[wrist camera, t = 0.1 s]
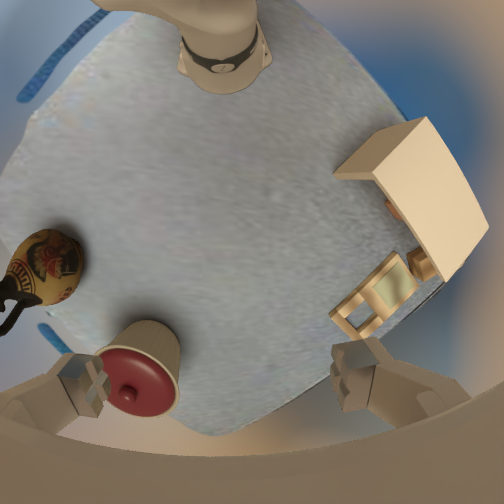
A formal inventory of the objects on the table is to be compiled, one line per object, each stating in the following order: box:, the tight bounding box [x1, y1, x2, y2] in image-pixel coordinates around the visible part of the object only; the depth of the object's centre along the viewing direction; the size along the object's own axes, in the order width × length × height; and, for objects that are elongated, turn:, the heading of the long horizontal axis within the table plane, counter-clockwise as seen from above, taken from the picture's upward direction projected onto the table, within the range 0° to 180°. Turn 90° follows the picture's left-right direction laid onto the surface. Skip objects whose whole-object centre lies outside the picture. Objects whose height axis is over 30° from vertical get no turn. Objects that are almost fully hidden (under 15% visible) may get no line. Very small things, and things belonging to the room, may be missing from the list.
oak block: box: [406, 247, 438, 282], centre depth 56 cm, size 5×5×6 cm
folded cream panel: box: [333, 116, 489, 282], centre depth 46 cm, size 14×24×18 cm, turn 45°
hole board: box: [329, 251, 419, 341], centre depth 60 cm, size 20×11×2 cm, turn 135°
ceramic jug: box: [0, 229, 83, 337], centre depth 42 cm, size 17×15×30 cm
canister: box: [94, 320, 181, 418], centre depth 52 cm, size 18×18×21 cm
